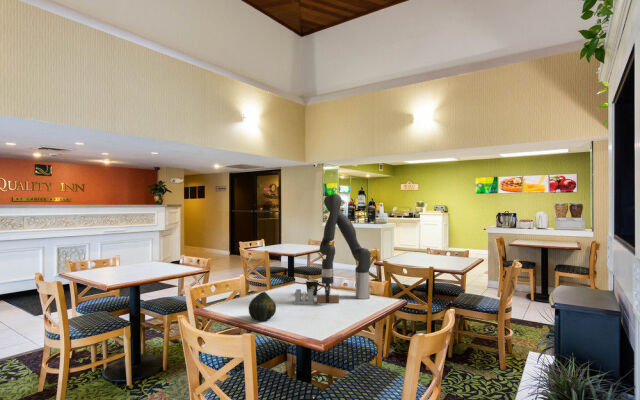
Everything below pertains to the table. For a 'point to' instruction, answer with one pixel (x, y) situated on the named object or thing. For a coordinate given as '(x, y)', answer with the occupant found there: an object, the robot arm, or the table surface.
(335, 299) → the glasses bar
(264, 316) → the squash
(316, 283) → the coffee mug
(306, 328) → the table surface
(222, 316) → the table surface
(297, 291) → the display stand
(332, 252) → the robot arm
